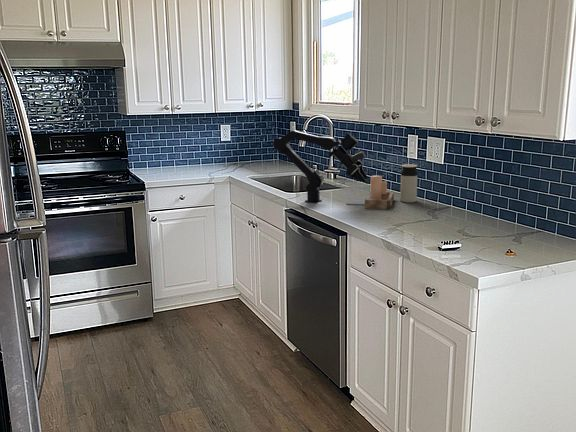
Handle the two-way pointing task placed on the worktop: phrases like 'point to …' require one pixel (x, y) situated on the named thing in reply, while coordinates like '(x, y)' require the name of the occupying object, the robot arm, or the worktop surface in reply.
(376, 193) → the tan rounded upright piece
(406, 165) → the travel mug
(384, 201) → the cradle
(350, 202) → the mat
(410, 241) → the worktop surface
